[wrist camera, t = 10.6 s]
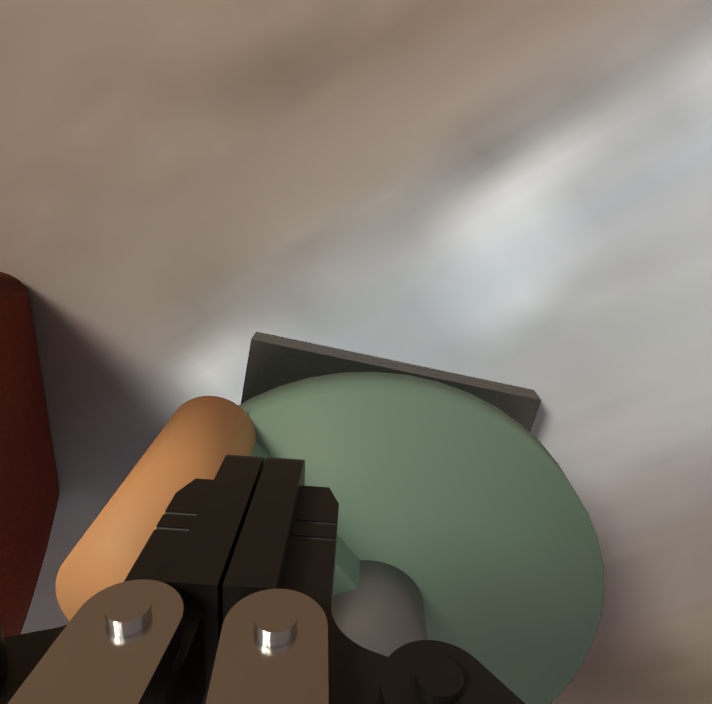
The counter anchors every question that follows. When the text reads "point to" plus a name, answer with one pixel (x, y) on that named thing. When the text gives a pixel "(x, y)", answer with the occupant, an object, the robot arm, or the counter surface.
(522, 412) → the pedestal
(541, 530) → the handwheel
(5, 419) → the plant pot
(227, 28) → the counter surface
